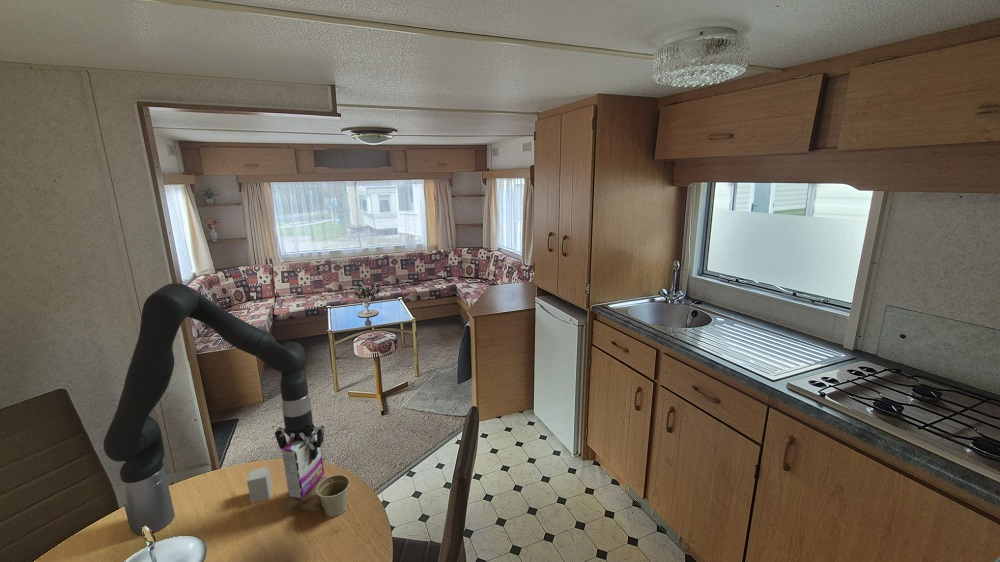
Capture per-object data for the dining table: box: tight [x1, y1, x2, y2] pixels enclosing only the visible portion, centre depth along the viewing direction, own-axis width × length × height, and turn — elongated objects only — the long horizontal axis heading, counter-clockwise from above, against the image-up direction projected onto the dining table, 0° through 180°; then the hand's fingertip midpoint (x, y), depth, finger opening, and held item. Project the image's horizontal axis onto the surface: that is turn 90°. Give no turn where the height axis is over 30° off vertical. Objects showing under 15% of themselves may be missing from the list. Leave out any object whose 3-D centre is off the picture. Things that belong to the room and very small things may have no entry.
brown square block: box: [284, 476, 328, 514], centre depth 130 cm, size 10×10×4 cm
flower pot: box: [316, 474, 351, 518], centre depth 125 cm, size 9×9×9 cm
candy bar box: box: [281, 431, 325, 498], centre depth 127 cm, size 11×5×16 cm, turn 169°
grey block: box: [246, 466, 273, 504], centre depth 131 cm, size 5×5×8 cm
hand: (303, 458), depth 127 cm, fingers closed on candy bar box, 5 cm apart
